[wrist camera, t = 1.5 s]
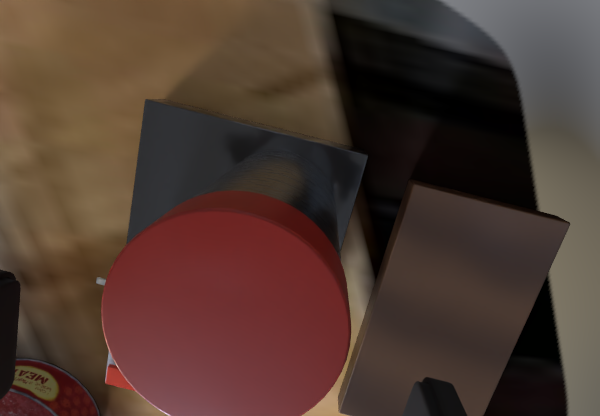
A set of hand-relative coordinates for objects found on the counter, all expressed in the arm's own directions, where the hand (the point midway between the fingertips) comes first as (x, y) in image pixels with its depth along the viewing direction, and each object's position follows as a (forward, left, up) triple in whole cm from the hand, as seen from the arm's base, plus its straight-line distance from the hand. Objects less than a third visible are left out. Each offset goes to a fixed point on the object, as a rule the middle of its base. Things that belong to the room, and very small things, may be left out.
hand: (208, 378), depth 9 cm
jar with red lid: (0, 0, -13) cm, 13 cm away
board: (+5, +11, -16) cm, 20 cm away
